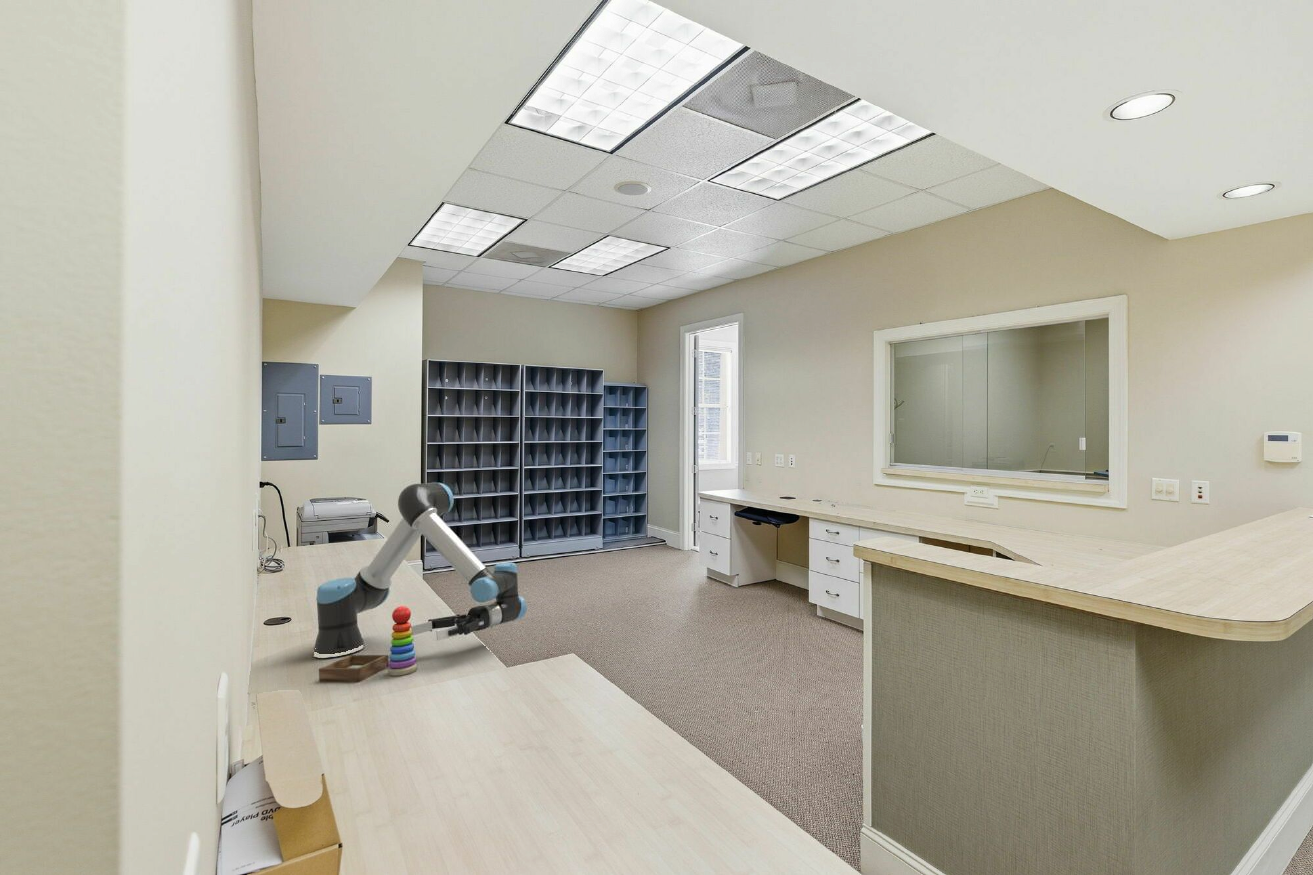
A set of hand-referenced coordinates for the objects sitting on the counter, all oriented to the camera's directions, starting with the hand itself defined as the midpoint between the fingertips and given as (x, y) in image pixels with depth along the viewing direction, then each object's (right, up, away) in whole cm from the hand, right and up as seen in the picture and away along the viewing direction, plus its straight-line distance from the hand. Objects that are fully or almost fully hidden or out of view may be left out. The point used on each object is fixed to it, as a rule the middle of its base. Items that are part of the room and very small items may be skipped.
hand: (424, 633), depth 185 cm
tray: (-19, -10, -4) cm, 22 cm away
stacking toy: (-4, -10, -6) cm, 12 cm away
